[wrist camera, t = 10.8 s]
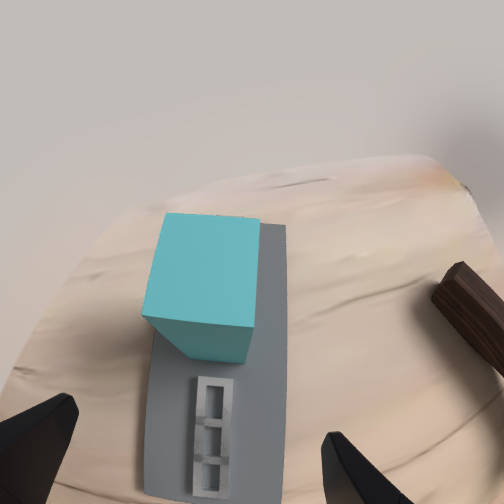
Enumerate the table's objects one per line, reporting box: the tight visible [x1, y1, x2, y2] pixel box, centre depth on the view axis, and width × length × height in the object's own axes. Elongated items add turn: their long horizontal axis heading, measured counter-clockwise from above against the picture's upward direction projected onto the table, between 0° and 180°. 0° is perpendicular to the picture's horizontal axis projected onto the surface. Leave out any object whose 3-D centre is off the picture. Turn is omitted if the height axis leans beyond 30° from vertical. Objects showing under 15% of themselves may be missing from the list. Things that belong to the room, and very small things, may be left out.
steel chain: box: [193, 215, 244, 499], centre depth 19 cm, size 23×2×1 cm, turn 178°
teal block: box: [141, 213, 260, 364], centre depth 15 cm, size 4×4×11 cm
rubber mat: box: [144, 223, 287, 504], centre depth 19 cm, size 24×10×1 cm, turn 178°
